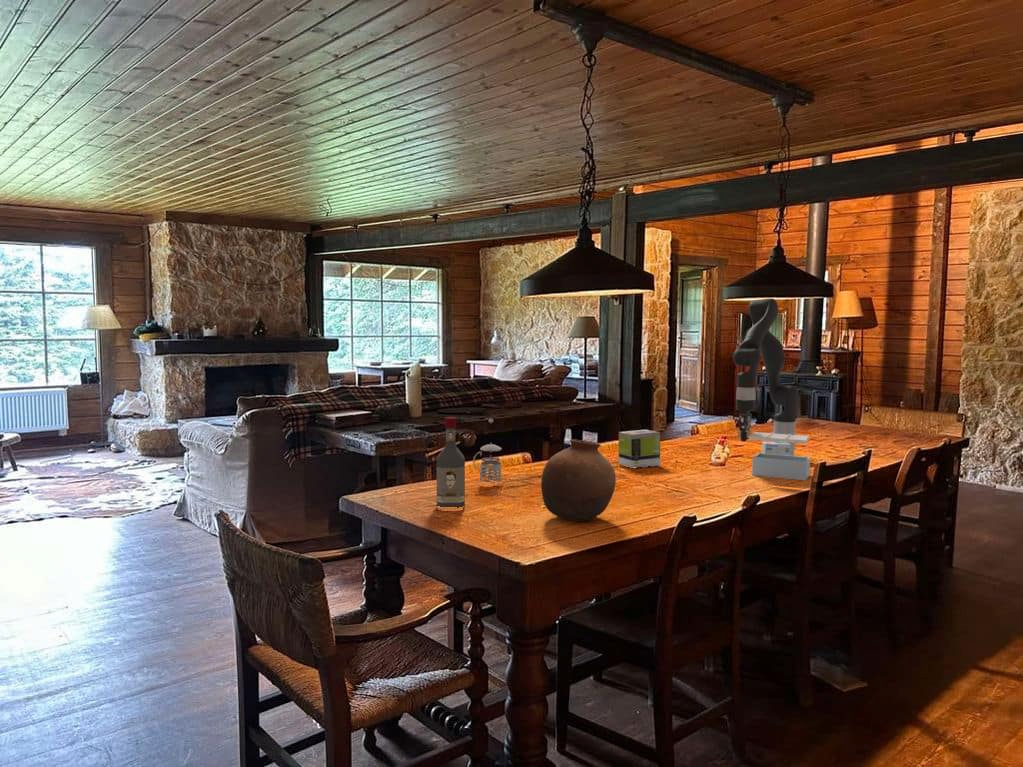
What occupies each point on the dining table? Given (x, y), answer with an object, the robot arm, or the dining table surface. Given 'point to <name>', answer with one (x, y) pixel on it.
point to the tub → (781, 466)
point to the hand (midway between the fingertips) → (744, 440)
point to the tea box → (639, 448)
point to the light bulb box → (776, 448)
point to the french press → (487, 461)
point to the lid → (775, 437)
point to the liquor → (450, 471)
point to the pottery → (578, 482)
